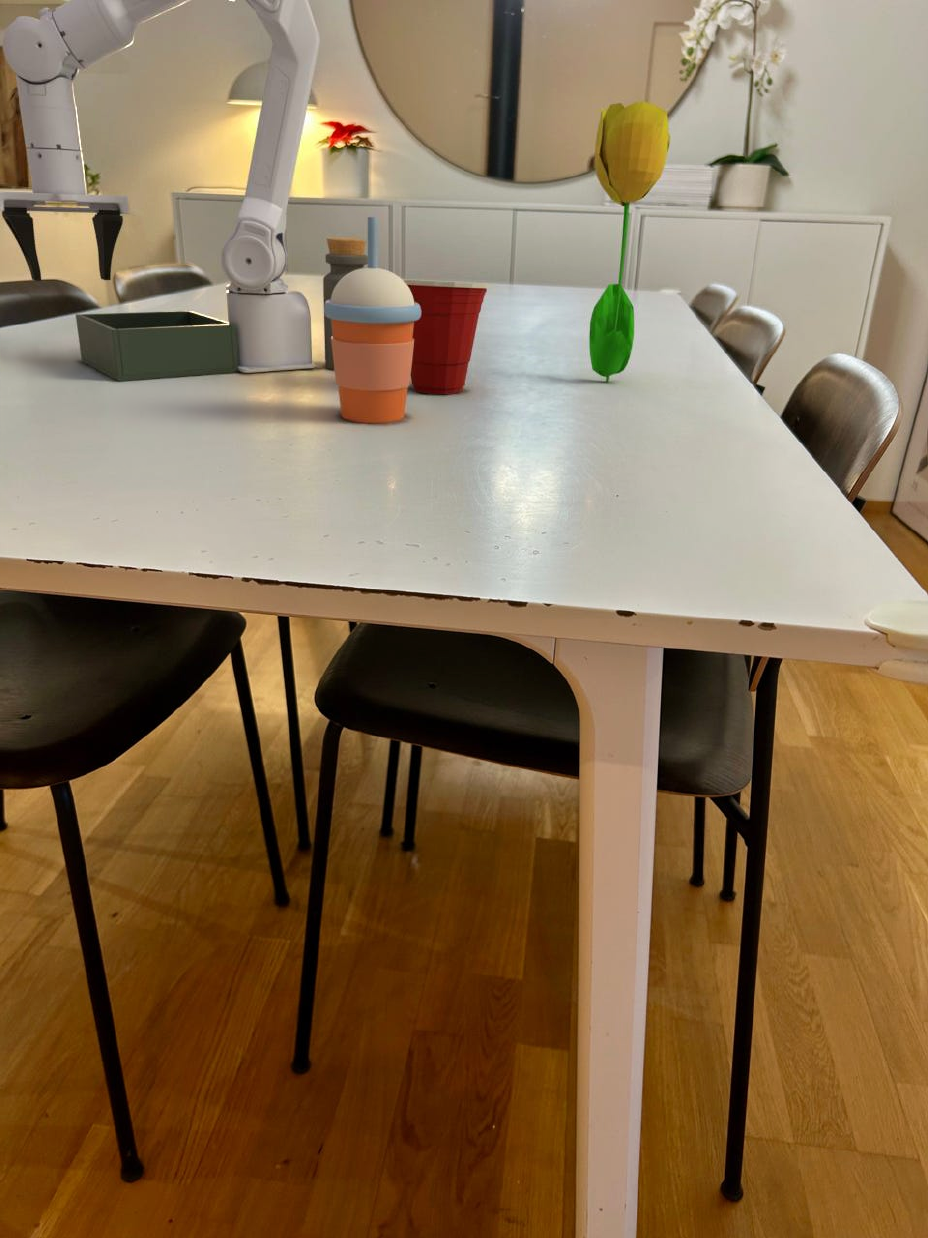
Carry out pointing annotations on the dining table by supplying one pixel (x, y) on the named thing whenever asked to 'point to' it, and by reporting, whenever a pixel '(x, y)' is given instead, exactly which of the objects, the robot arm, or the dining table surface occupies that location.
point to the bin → (157, 344)
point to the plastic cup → (444, 333)
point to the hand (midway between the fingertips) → (71, 279)
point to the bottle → (340, 277)
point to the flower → (627, 174)
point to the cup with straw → (372, 340)
